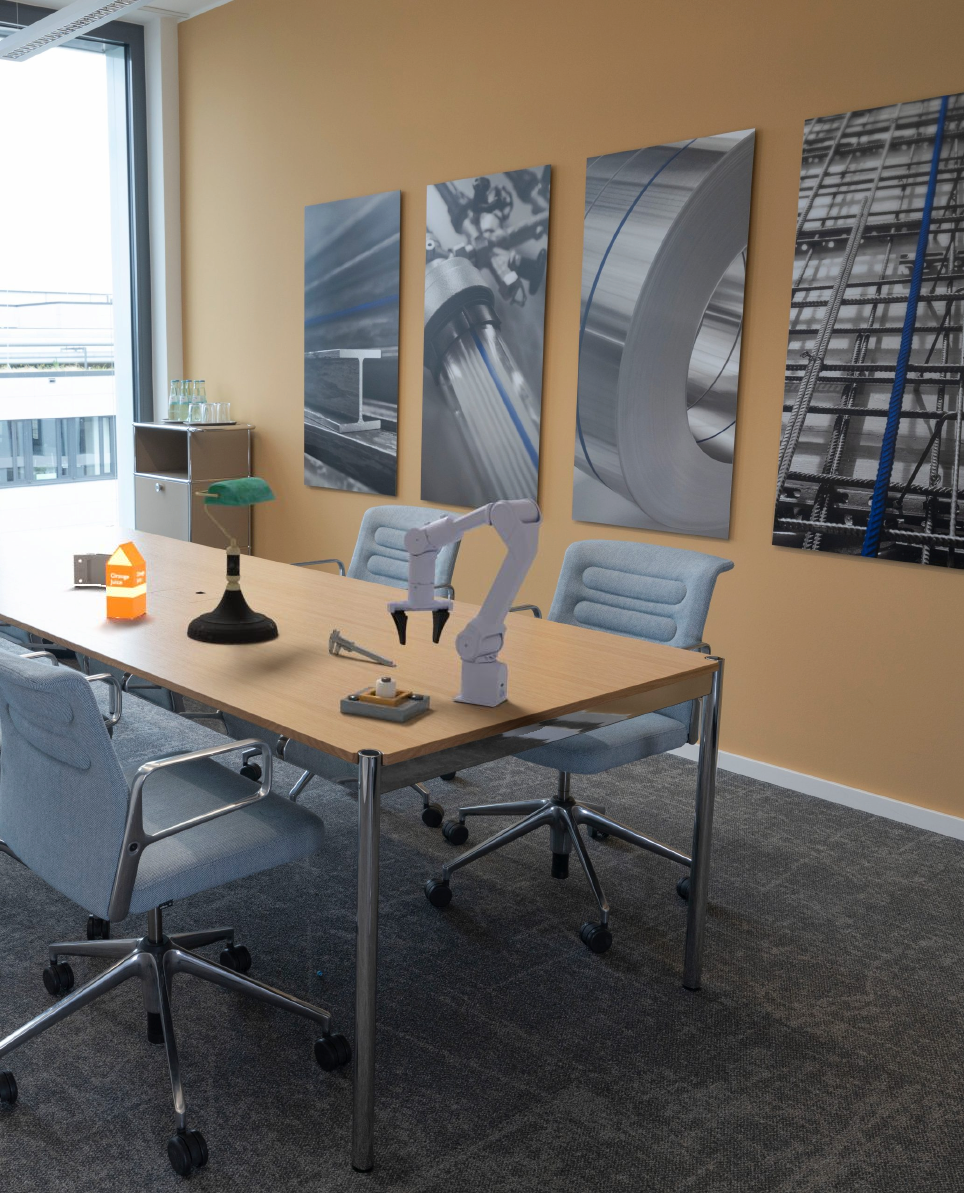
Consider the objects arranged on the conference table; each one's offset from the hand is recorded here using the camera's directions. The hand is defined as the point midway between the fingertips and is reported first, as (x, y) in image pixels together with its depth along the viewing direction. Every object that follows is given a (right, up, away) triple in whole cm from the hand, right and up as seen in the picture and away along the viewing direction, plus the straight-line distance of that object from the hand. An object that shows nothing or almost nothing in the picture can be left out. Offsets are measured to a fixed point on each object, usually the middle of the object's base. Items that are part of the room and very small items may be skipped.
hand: (419, 643), depth 239 cm
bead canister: (-6, -13, -18) cm, 23 cm away
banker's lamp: (-51, 0, +43) cm, 67 cm away
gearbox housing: (-6, -13, -19) cm, 23 cm away
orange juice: (-84, +5, +60) cm, 103 cm away
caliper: (-15, -5, +23) cm, 28 cm away
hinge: (-106, +13, +100) cm, 146 cm away
